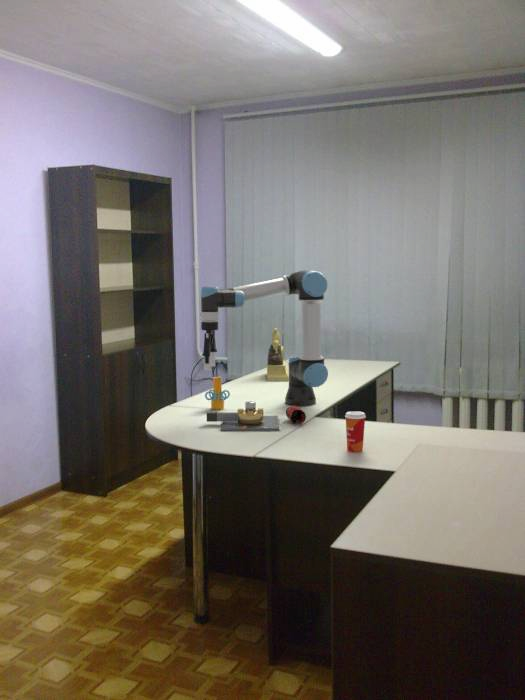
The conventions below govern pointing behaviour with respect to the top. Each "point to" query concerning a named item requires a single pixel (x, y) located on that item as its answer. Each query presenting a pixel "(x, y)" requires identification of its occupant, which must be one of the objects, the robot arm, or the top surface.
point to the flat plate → (268, 424)
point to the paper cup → (355, 430)
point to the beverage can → (295, 414)
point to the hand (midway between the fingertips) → (209, 368)
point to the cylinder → (217, 394)
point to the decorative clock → (276, 360)
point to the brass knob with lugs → (237, 416)
